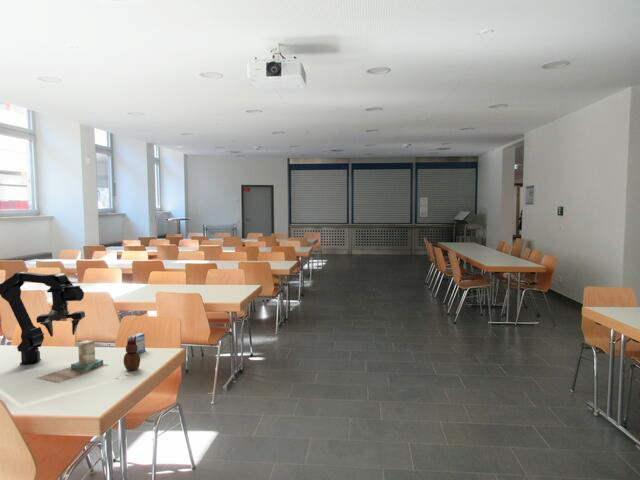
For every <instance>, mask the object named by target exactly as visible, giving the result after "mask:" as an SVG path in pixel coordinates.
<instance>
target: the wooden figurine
mask: <svg viewBox="0 0 640 480" xmlns="http://www.w3.org/2000/svg"><path fill="white" fill-rule="evenodd" d="M134 335H135V334H134ZM126 342H127V343H126V347H125V352H126V353H125V354H124V356H123V366H124V368H125V370H127V371H129V372H131V371H132V372H133V371H137V370H138V369H139V367H140V365H141V355H140V353H137V345H136V335H135V337H134V341H133V337H131V340H130V339H129V341H128V340H127V341H126Z"/></svg>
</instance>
